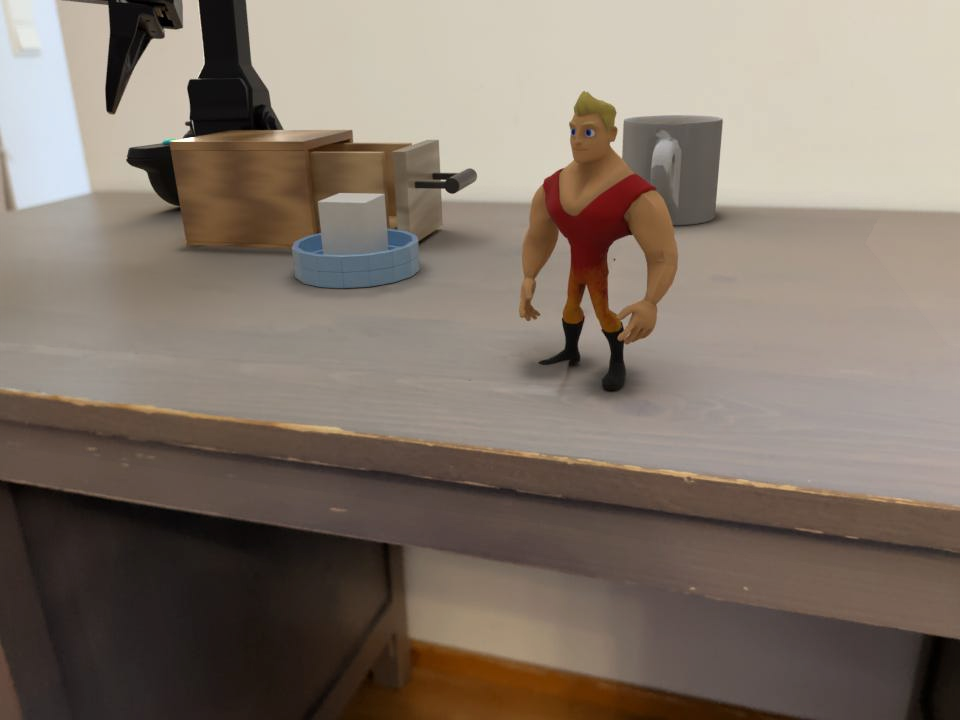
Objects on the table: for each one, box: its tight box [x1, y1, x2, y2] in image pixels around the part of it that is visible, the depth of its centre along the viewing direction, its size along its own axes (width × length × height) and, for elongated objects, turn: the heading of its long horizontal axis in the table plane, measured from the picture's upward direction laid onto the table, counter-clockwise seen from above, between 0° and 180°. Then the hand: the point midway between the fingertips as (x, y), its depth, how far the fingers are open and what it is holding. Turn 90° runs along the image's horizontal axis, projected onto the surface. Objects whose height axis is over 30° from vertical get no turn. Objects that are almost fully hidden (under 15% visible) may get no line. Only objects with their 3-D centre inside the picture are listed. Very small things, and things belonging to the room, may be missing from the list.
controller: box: [125, 120, 194, 207], centre depth 95 cm, size 4×12×10 cm, turn 151°
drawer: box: [308, 139, 478, 242], centre depth 73 cm, size 17×9×8 cm, turn 75°
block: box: [318, 193, 389, 255], centre depth 63 cm, size 4×4×6 cm
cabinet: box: [169, 129, 354, 250], centre depth 76 cm, size 14×11×10 cm
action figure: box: [518, 90, 679, 391], centre depth 41 cm, size 10×4×15 cm, turn 49°
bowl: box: [291, 229, 421, 289], centre depth 63 cm, size 10×10×3 cm
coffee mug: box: [621, 114, 724, 226], centre depth 81 cm, size 13×10×10 cm
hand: (40, 108), depth 56 cm, fingers open, 9 cm apart
